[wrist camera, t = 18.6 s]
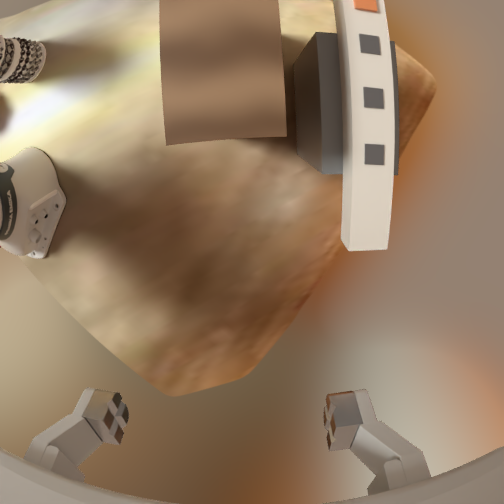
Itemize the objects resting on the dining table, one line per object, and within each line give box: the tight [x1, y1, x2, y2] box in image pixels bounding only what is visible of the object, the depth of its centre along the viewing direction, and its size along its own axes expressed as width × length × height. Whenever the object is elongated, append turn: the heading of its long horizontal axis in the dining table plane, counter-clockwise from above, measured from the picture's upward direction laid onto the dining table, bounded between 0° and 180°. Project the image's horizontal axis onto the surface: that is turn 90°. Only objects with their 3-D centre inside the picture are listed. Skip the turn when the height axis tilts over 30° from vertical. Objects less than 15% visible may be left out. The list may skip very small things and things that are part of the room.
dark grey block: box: [293, 32, 399, 175], centre depth 33 cm, size 14×8×18 cm, turn 3°
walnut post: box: [160, 0, 287, 145], centre depth 27 cm, size 16×8×26 cm, turn 3°
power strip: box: [333, 0, 395, 251], centre depth 23 cm, size 26×4×3 cm, turn 3°
